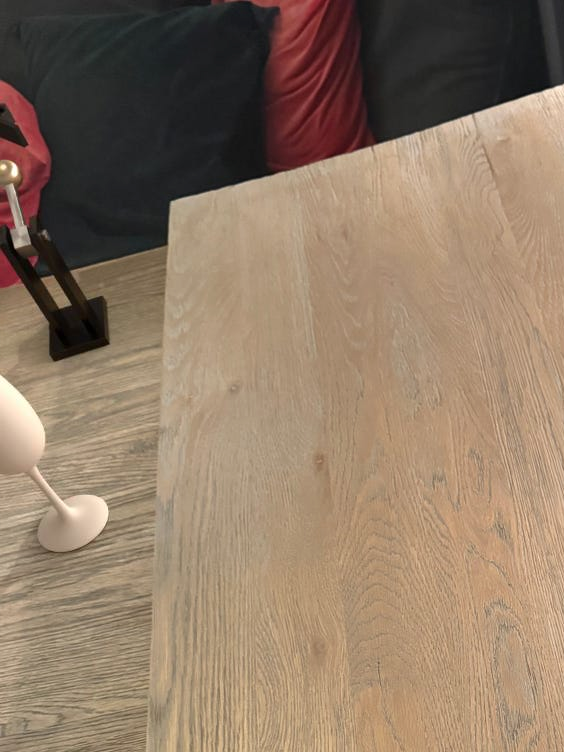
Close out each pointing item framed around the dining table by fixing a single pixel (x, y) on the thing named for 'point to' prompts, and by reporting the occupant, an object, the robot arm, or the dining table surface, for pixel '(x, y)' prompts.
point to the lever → (16, 209)
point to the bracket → (66, 325)
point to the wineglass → (21, 454)
